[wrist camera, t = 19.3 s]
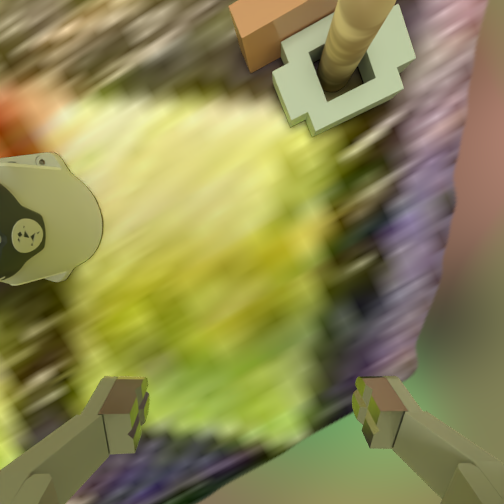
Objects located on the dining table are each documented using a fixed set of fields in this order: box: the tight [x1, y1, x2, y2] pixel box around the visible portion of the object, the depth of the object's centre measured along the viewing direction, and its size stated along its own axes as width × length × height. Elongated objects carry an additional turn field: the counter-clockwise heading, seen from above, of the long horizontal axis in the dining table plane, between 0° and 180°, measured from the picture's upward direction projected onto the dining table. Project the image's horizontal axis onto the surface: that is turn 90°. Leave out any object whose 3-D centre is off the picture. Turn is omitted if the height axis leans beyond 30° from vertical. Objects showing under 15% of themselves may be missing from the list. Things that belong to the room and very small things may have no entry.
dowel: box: [316, 0, 396, 92], centre depth 27 cm, size 4×4×14 cm
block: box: [272, 4, 416, 137], centre depth 32 cm, size 10×14×4 cm
